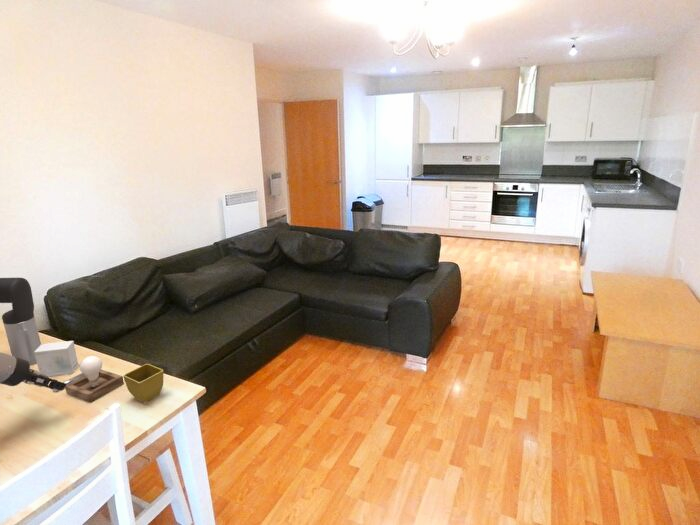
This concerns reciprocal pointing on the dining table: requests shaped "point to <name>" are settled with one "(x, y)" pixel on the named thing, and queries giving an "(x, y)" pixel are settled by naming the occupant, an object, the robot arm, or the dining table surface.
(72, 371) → the skincare box
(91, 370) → the lightbulb
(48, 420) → the dining table surface
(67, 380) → the pin
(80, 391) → the brown wooden tray
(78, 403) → the dining table surface
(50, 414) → the dining table surface
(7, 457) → the dining table surface
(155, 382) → the flower pot
